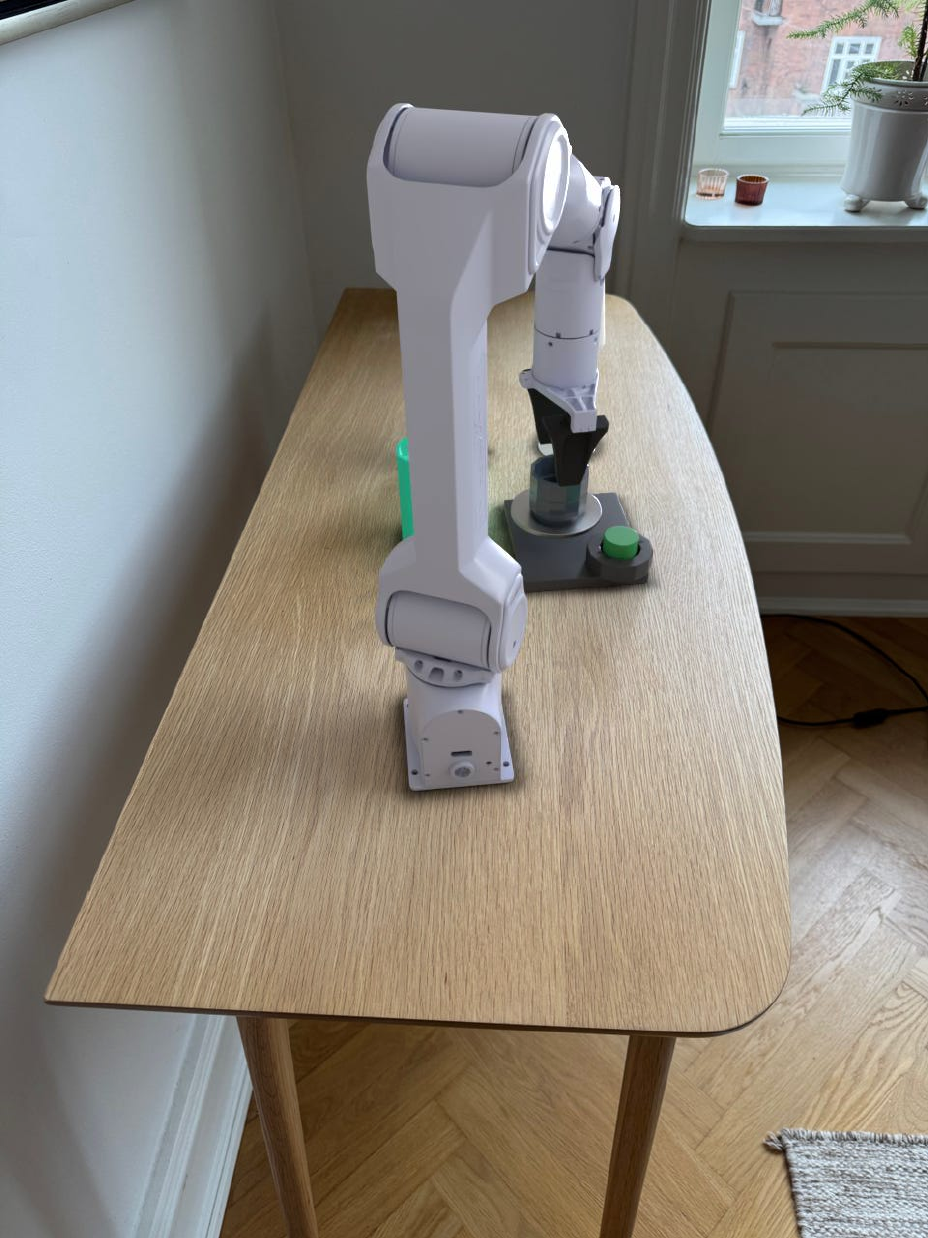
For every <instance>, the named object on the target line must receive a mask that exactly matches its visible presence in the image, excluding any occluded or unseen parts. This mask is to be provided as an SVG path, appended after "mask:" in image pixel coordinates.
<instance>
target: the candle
mask: <svg viewBox="0 0 928 1238" xmlns="http://www.w3.org/2000/svg"><path fill="white" fill-rule="evenodd" d="M395 446H396V448H395V449H396V451H395V452H396V466H397V467H396V468H397V479H398V490H399V491H398V492H399V494H398V495H399V507H400V517H401V518H400V519H401V533H402V541H403V540H404V539H406V538H408V537H410V536H412V535H414V526H413V512H412V498H411V484H410V470H409V457H408V443H407V435H406V436H404V437H403V438H402V439H401V440H400V441H399V442H398V443H396V445H395Z"/></svg>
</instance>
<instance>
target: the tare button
mask: <svg viewBox="0 0 928 1238" xmlns="http://www.w3.org/2000/svg"><path fill="white" fill-rule="evenodd" d="M638 539H639V536H638V534H637V531H636V530H635V529H633V528H631V527H630V528H629V527H625V526H615V527H611V528H609V529H608V530H606V532H605V534H604V543H603V552H604V553H605V555H606V556H608V557H610V558H614V559H618V560H623V559H631V558H633V557H634V556H635V555H636V553H637V547H638Z"/></svg>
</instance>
